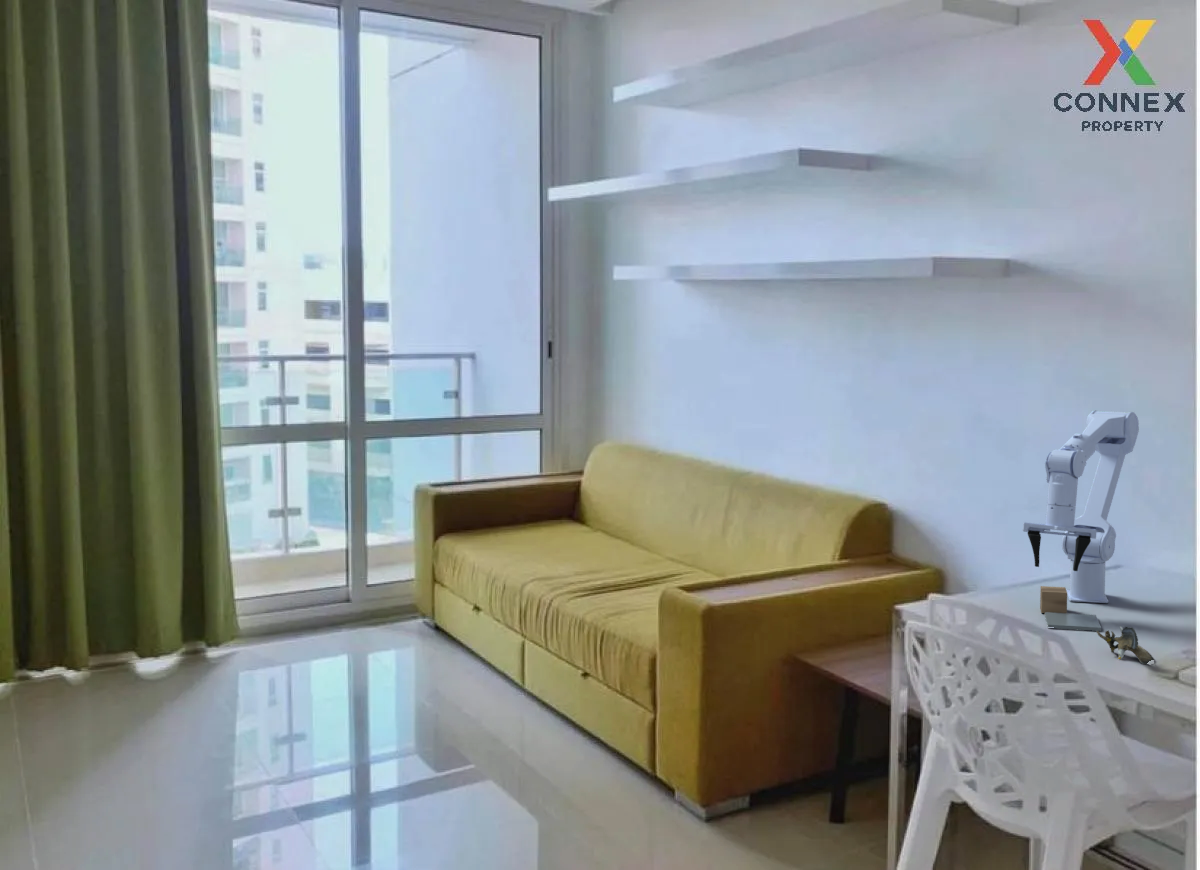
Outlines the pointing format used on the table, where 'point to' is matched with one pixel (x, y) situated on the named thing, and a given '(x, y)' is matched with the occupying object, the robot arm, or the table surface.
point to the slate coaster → (1072, 621)
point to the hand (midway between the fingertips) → (1055, 568)
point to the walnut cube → (1053, 599)
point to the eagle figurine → (1127, 644)
